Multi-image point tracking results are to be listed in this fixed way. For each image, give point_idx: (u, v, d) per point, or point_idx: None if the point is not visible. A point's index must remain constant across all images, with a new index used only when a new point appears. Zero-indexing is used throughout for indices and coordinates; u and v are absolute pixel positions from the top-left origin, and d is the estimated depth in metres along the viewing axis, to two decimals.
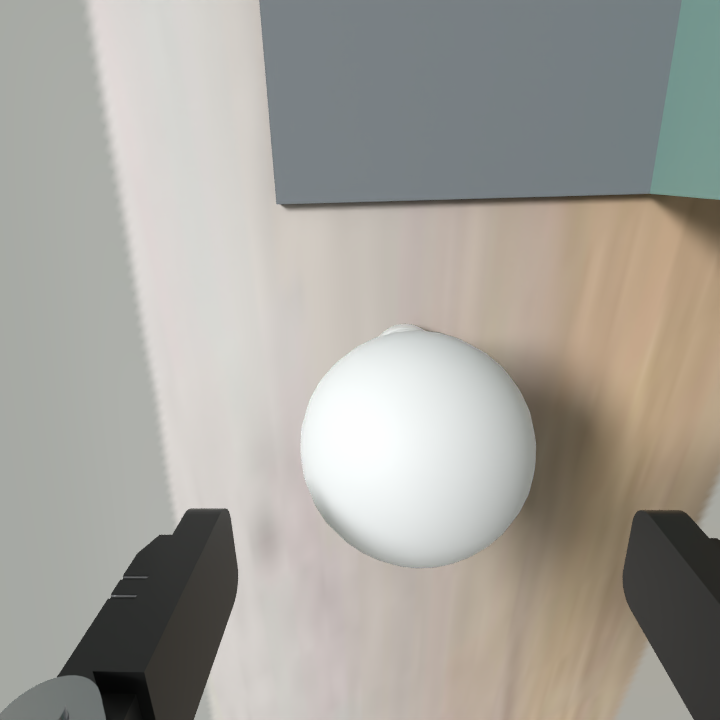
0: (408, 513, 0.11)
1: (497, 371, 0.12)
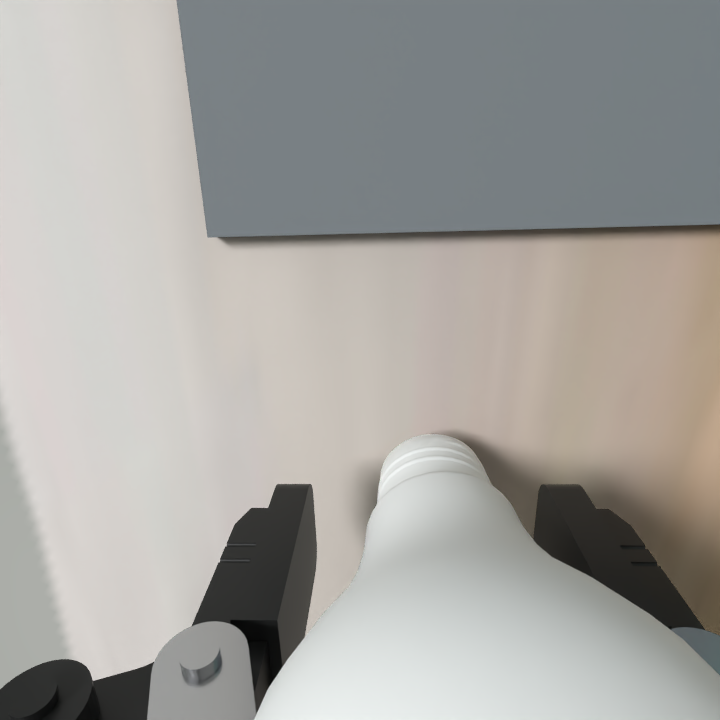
0: None
1: None
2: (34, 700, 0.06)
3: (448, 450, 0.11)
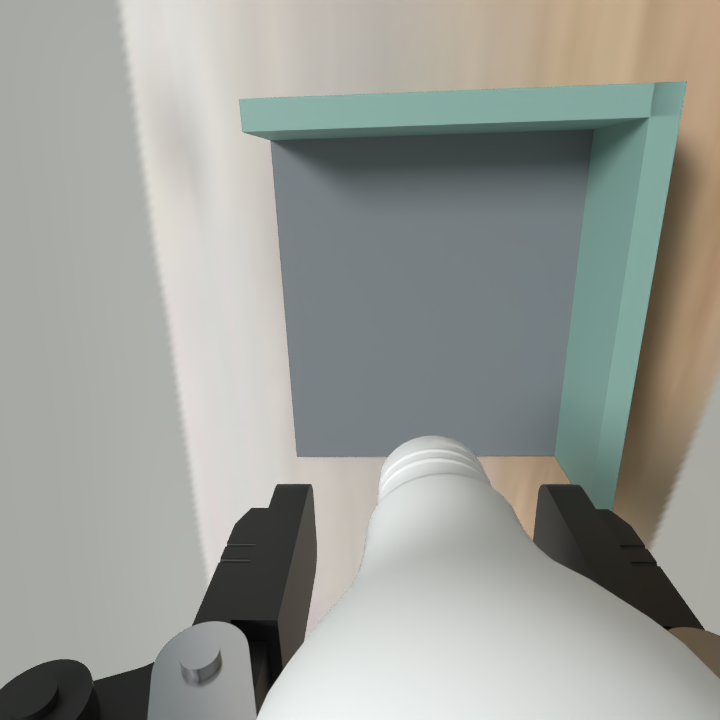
0: None
1: None
2: (34, 699, 0.06)
3: (448, 452, 0.11)
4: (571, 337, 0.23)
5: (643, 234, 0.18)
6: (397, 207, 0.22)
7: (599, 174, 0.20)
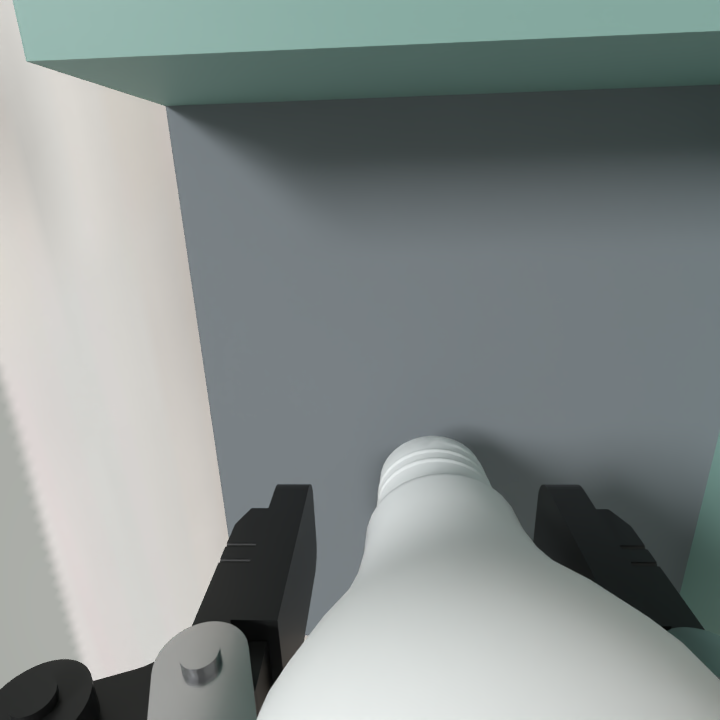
0: None
1: None
2: (34, 699, 0.06)
3: (448, 452, 0.11)
4: None
5: None
6: (410, 234, 0.12)
7: None
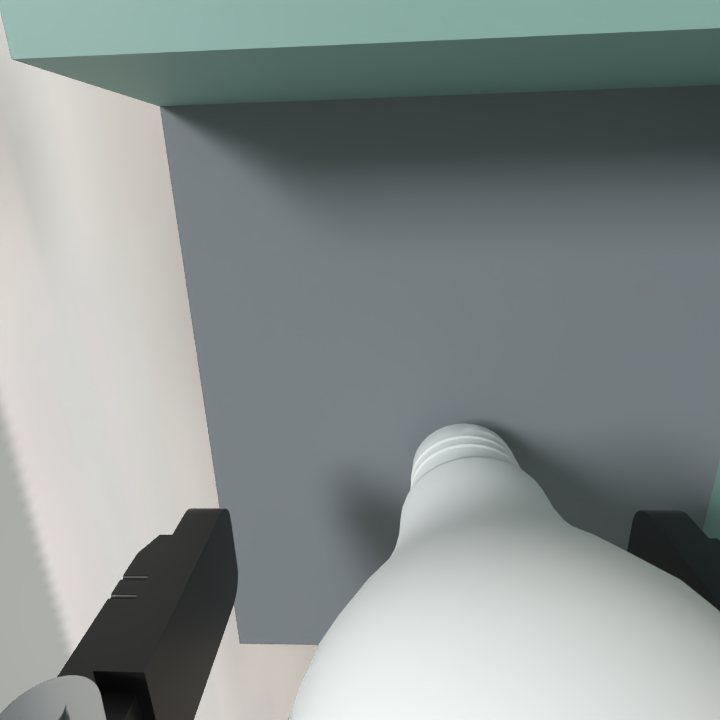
0: None
1: None
2: None
3: (480, 438, 0.11)
4: None
5: None
6: (410, 237, 0.12)
7: None
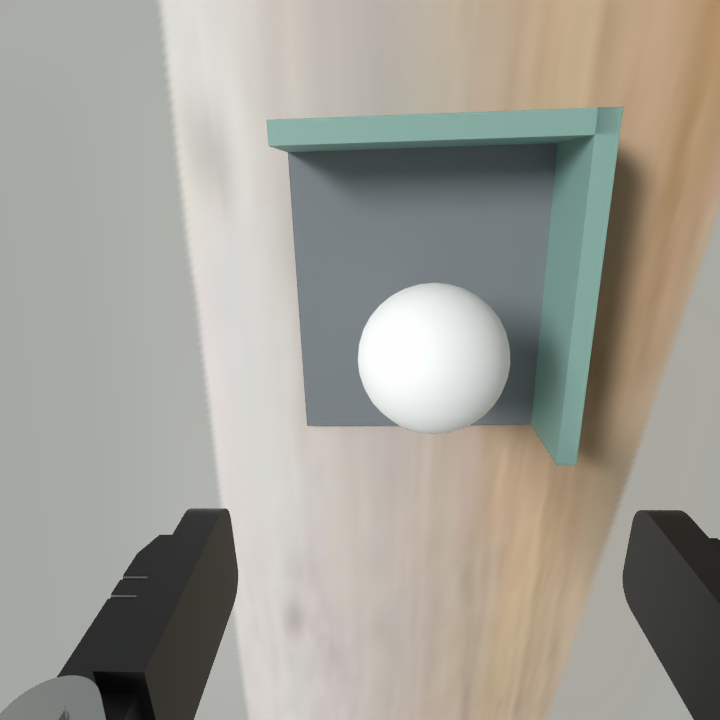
0: (431, 383, 0.18)
1: (484, 304, 0.19)
2: None
3: None
4: (543, 319, 0.28)
5: (593, 228, 0.22)
6: (394, 208, 0.26)
7: (561, 180, 0.24)
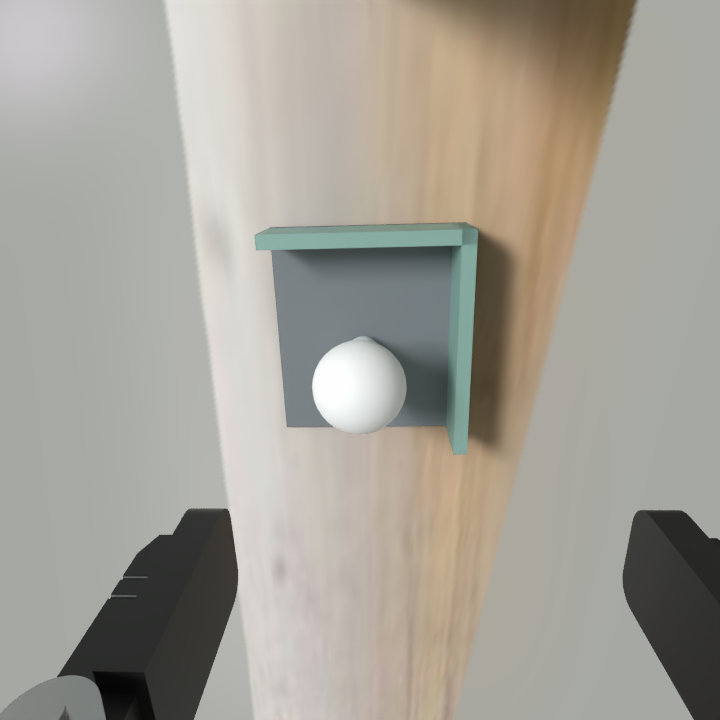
0: (351, 405, 0.30)
1: (388, 355, 0.31)
2: None
3: (365, 338, 0.38)
4: (449, 353, 0.40)
5: (465, 301, 0.34)
6: (343, 278, 0.38)
7: (453, 263, 0.36)
